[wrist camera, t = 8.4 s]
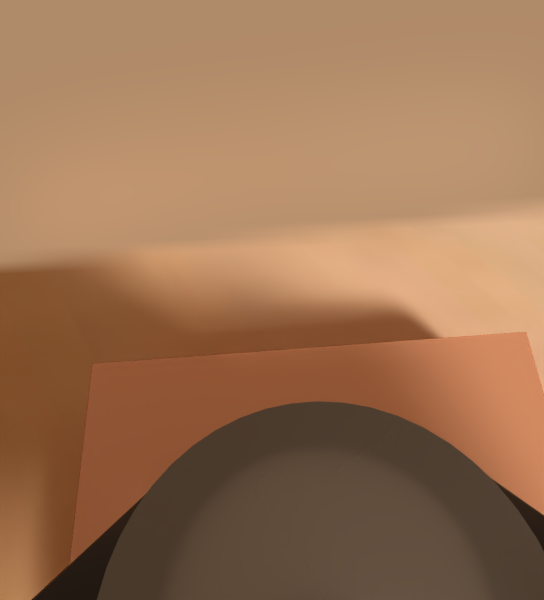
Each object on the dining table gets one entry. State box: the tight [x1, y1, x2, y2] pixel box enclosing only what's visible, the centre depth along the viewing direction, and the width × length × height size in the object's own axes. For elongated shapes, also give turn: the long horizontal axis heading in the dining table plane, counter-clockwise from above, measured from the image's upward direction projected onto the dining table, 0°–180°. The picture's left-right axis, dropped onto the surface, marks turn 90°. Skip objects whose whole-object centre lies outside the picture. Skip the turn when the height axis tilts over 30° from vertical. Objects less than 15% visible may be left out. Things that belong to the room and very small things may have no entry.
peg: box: [97, 401, 544, 600], centre depth 10 cm, size 4×4×13 cm
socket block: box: [69, 332, 544, 565], centre depth 14 cm, size 9×12×4 cm
